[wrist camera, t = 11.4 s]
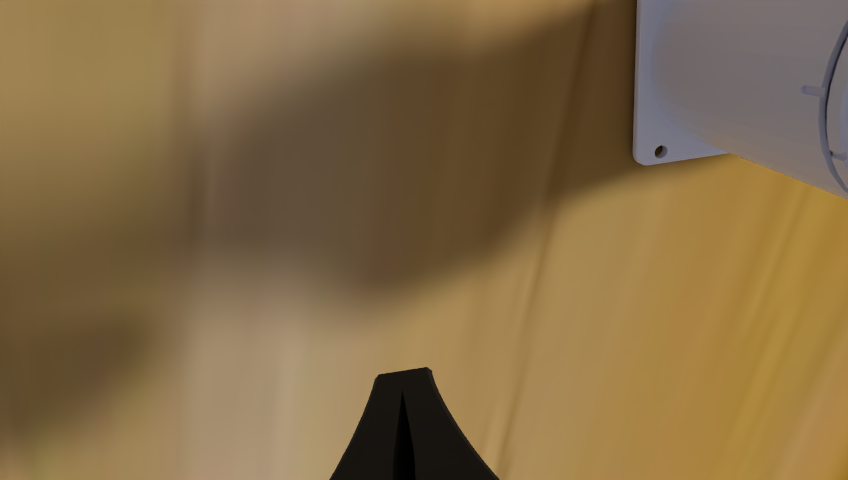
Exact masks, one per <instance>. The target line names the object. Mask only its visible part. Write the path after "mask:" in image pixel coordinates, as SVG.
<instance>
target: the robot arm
mask: <svg viewBox="0 0 848 480" xmlns="http://www.w3.org/2000/svg"><path fill="white" fill-rule="evenodd" d="M661 145H662V147H663V150H662V152H661V153H660V154H659V155H657V156H655V150H656V148H657V147H659V146H661ZM726 153H731V154H734V155H736V156H739V157H741V158H744V159H746V160H749V161H751V162H754V163H757V164H759V165H762V166H764V167H767V168H769V169H772V170H774V171H777V172H779V173H782V174H784V175H787V176H789V177H792V178H794V179H797V180H800V181H802V182H805V183H807V184H810V185H812V186H815V187H817V188H820V189H822V190H825V191H827V192H830V193H832V194H835V195H838V196H840V197H843V198H845V199H848V0H637V23H636V58H635V92H634V126H633V158H634V159H635V161H636V162H638V163H640V164H642V165H654V164H661V163H667V162H674V161H681V160H687V159H694V158H700V157H707V156H713V155H720V154H726ZM329 480H499V478H498V477H497V476H496V475H495V474H494V473H493V472H492V470H491V469H490V468H489V467H488V466H487V465H486V463H485V462H484V461H483V460H482V458H481V457H480V456H479V455H478V453H477V452H476V451H475V449H474V448H473V447H472V445H471V444H470V443H469V441H468V440H467V438H466V437H465V436H464V434H463V433H462V431H461V430H460V428H459V427H458V425H457V423H456V422H455V420H454V418H453V417H452V415H451V413H450V412H449V410H448V408H447V407H446V405H445V403H444V401H443V399H442V397H441V395H440V393H439V391H438V389H437V386H436V384H435V381H434V378H433V375H432V370H430V369H429V368H427V367H424V368H418V369H411V370H405V371H399V372H392V373H386V374H379V375H378V376H377V377H376V379H375V381H374V385H373V388H372V391H371V394H370V397H369V400H368V402H367V405H366V407H365V410H364V412H363V415H362V417H361V419H360V422H359V424H358V426H357V428H356V430H355V433H354V435H353V437H352V439H351V441H350V443H349V445H348V447H347V449H346V451H345V453H344V454H343V456H342V458H341V460H340V462H339V464H338V466H337V468H336V469H335V471H334V473H333V474H332V476H331V478H330V479H329Z"/></svg>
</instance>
